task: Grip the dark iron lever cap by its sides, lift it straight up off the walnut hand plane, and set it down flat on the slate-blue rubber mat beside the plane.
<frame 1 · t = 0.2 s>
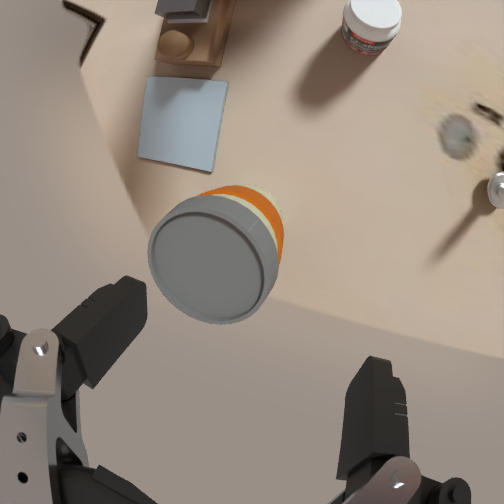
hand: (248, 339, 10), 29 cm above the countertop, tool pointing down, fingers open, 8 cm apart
screw: (494, 186, 28), on the countertop
pill bottle: (365, 35, 25), on the countertop
plane body: (210, 0, 27), on the countertop
rubber mat: (179, 120, 36), on the countertop
reusable coffee cup: (249, 216, 39), on the countertop
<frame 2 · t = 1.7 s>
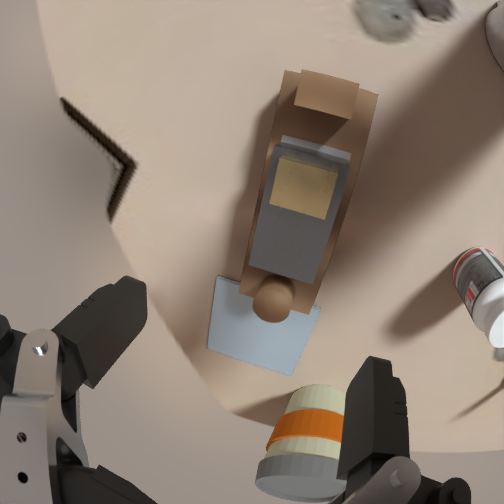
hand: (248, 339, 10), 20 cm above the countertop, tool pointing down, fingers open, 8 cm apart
lever cap: (301, 205, 22), point 5 cm above the countertop, touching plane body
pill bottle: (473, 268, 25), on the countertop
plane body: (306, 191, 27), on the countertop
rubber mat: (258, 329, 35), on the countertop
reusable coffee cup: (320, 401, 39), on the countertop
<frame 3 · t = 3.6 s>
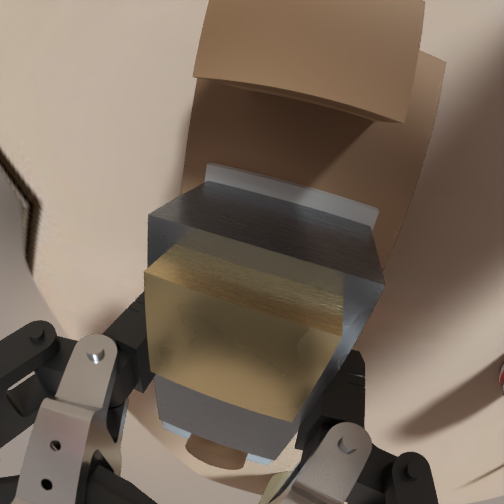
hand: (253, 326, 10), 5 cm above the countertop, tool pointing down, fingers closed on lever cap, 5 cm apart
lever cap: (257, 318, 11), point 5 cm above the countertop, touching gripper, plane body
plane body: (281, 259, 15), on the countertop
rubber mat: (222, 422, 23), on the countertop
reusable coffee cup: (306, 482, 27), on the countertop
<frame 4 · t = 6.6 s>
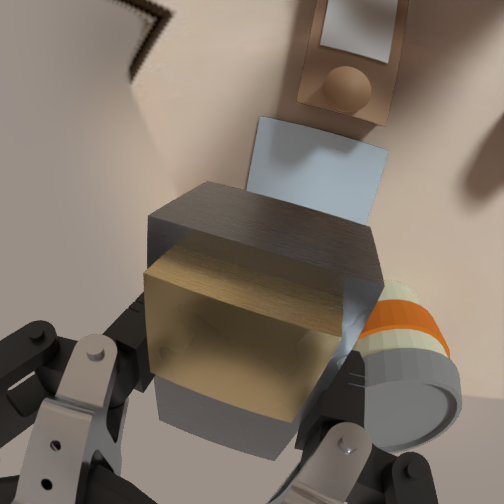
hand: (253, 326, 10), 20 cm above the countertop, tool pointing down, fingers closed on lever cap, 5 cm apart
lever cap: (257, 319, 11), point 19 cm above the countertop, touching gripper
plane body: (359, 18, 18), on the countertop
rubber mat: (310, 191, 27), on the countertop
reusable coffee cup: (382, 312, 31), on the countertop
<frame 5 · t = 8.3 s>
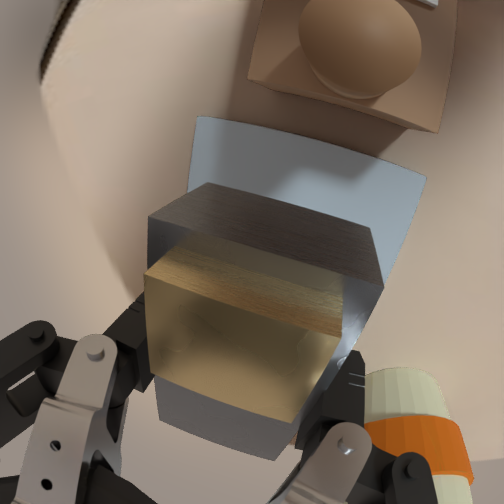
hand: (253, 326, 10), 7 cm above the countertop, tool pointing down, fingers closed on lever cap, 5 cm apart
lever cap: (257, 319, 11), point 7 cm above the countertop, touching gripper
rubber mat: (286, 244, 16), on the countertop
reusable coffee cup: (388, 400, 20), on the countertop
when the fingers open (2 cm above the countertop, at t = 9.8 s): lever cap drops 1 cm, resting on rubber mat.
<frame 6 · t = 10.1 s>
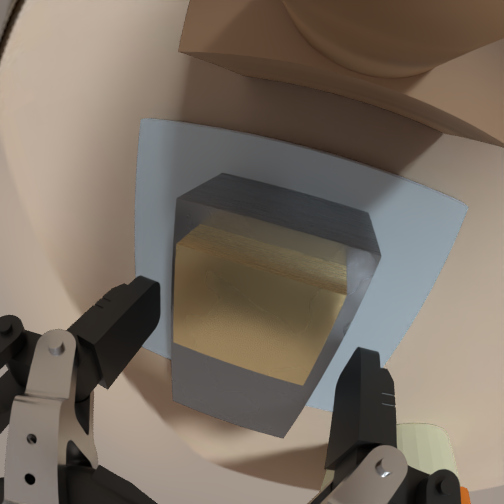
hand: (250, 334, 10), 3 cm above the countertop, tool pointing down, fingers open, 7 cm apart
lever cap: (267, 300, 11), point 1 cm above the countertop, touching rubber mat
rubber mat: (267, 292, 12), on the countertop
reusable coffee cup: (390, 450, 16), on the countertop
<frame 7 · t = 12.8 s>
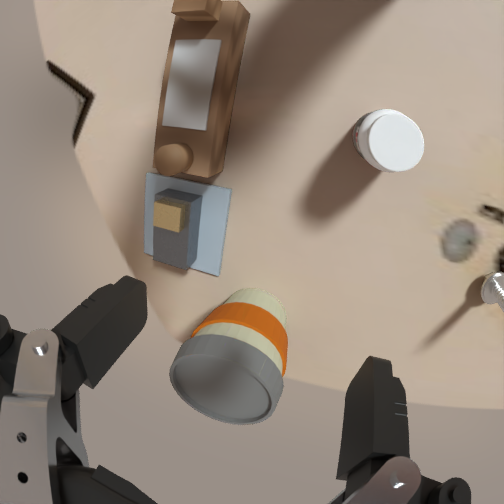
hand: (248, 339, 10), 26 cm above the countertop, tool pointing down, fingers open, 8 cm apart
lever cap: (182, 224, 38), point 1 cm above the countertop, touching rubber mat
screw: (489, 280, 30), on the countertop
pill bottle: (377, 137, 28), on the countertop
plane body: (207, 86, 30), on the countertop
rubber mat: (183, 223, 39), on the countertop
reusable coffee cup: (255, 314, 42), on the countertop
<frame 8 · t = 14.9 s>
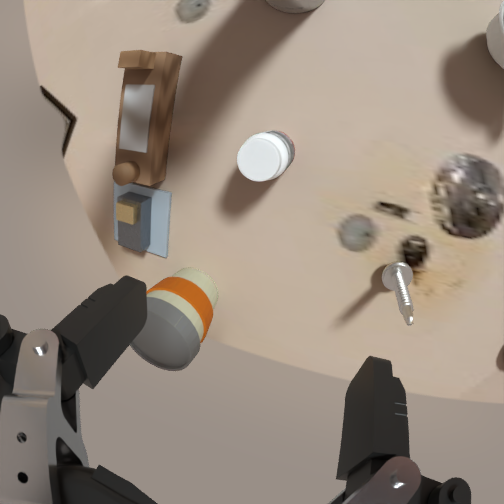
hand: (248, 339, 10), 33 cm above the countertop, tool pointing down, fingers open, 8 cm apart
lever cap: (139, 218, 49), point 1 cm above the countertop, touching rubber mat
screw: (395, 269, 41), on the countertop
pill bottle: (275, 150, 39), on the countertop
plane body: (153, 115, 41), on the countertop
rubber mat: (140, 217, 49), on the countertop
reusable coffee cup: (195, 288, 53), on the countertop
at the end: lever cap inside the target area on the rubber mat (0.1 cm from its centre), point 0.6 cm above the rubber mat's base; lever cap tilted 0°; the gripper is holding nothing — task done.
